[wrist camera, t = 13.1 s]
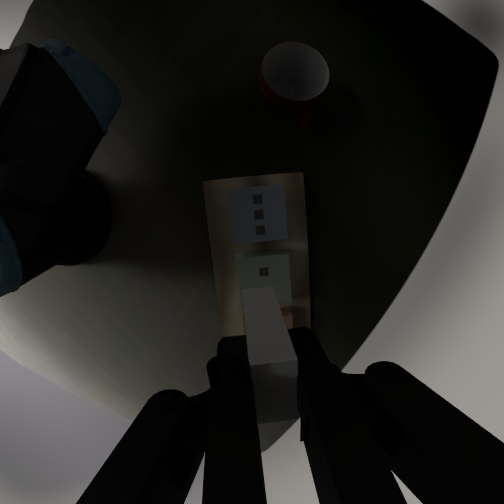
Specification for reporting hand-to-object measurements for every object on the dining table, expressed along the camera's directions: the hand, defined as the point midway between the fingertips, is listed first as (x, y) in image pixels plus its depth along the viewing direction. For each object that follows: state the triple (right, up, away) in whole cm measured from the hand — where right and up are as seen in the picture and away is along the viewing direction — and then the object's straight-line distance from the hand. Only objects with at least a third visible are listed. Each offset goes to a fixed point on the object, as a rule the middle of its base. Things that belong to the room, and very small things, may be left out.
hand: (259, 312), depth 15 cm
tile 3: (0, +8, +25) cm, 27 cm away
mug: (+5, +25, +24) cm, 35 cm away
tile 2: (+1, 0, +28) cm, 28 cm away
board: (+1, 0, +29) cm, 29 cm away
